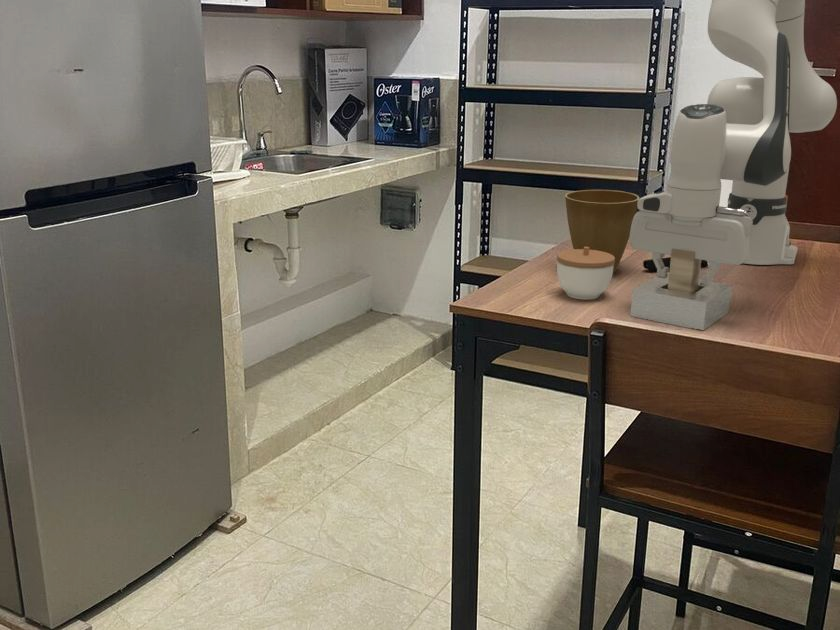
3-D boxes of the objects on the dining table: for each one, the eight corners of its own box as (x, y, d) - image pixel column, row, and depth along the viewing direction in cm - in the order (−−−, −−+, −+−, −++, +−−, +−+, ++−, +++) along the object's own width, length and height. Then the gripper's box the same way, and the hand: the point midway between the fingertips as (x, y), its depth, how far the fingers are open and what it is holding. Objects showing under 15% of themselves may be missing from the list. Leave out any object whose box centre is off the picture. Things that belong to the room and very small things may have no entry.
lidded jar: (599, 306, 154) (603, 256, 151) (545, 297, 160) (548, 248, 157) (619, 293, 163) (623, 245, 160) (567, 284, 168) (570, 238, 165)
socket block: (659, 299, 159) (661, 273, 157) (728, 312, 152) (732, 285, 150) (630, 315, 149) (632, 288, 148) (703, 331, 142) (706, 302, 140)
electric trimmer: (638, 271, 180) (639, 257, 179) (697, 264, 185) (699, 250, 184) (648, 276, 176) (649, 261, 175) (709, 268, 182) (710, 254, 181)
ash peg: (673, 309, 153) (680, 244, 149) (694, 313, 151) (702, 248, 147) (664, 314, 150) (671, 248, 146) (686, 319, 148) (694, 252, 144)
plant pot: (576, 258, 188) (581, 187, 183) (642, 268, 180) (649, 193, 176) (549, 273, 176) (553, 197, 171) (618, 284, 169) (624, 204, 164)
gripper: (760, 207, 141) (749, 287, 145) (643, 194, 152) (636, 268, 157) (748, 213, 136) (737, 295, 140) (629, 198, 148) (622, 275, 152)
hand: (683, 281), depth 148 cm, fingers open, 6 cm apart
